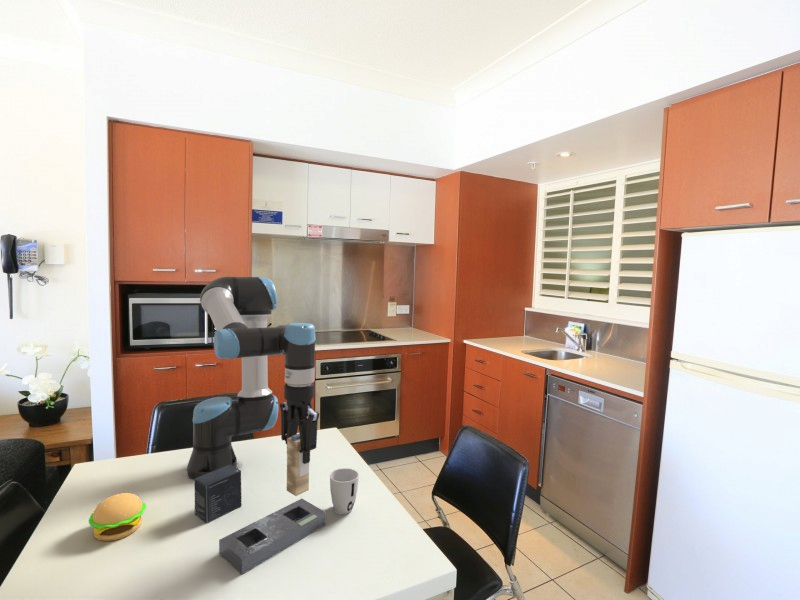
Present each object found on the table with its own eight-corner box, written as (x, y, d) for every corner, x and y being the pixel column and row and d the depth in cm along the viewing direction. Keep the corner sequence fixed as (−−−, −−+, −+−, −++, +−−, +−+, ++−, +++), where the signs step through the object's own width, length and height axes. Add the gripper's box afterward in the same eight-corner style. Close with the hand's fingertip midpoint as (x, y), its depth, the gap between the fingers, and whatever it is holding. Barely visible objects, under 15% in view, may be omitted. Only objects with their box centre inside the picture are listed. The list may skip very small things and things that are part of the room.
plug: (286, 490, 107) (287, 435, 106) (299, 484, 110) (300, 431, 109) (296, 496, 104) (297, 439, 103) (308, 490, 107) (309, 435, 106)
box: (229, 498, 120) (229, 463, 119) (242, 506, 116) (242, 470, 115) (193, 515, 111) (193, 477, 111) (206, 524, 108) (206, 485, 107)
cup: (352, 519, 112) (353, 483, 111) (324, 514, 113) (325, 479, 113) (361, 503, 120) (362, 470, 119) (335, 499, 121) (335, 466, 121)
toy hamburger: (85, 551, 96) (85, 516, 95) (91, 524, 106) (91, 492, 105) (146, 535, 102) (146, 502, 102) (145, 511, 112) (145, 481, 112)
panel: (219, 554, 96) (219, 539, 96) (301, 510, 115) (301, 497, 115) (241, 574, 90) (242, 558, 90) (325, 524, 109) (325, 511, 109)
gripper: (267, 379, 108) (266, 466, 109) (309, 392, 97) (307, 488, 98) (291, 374, 113) (289, 456, 115) (332, 386, 103) (330, 477, 104)
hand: (297, 471), depth 107 cm, fingers closed on plug, 4 cm apart
